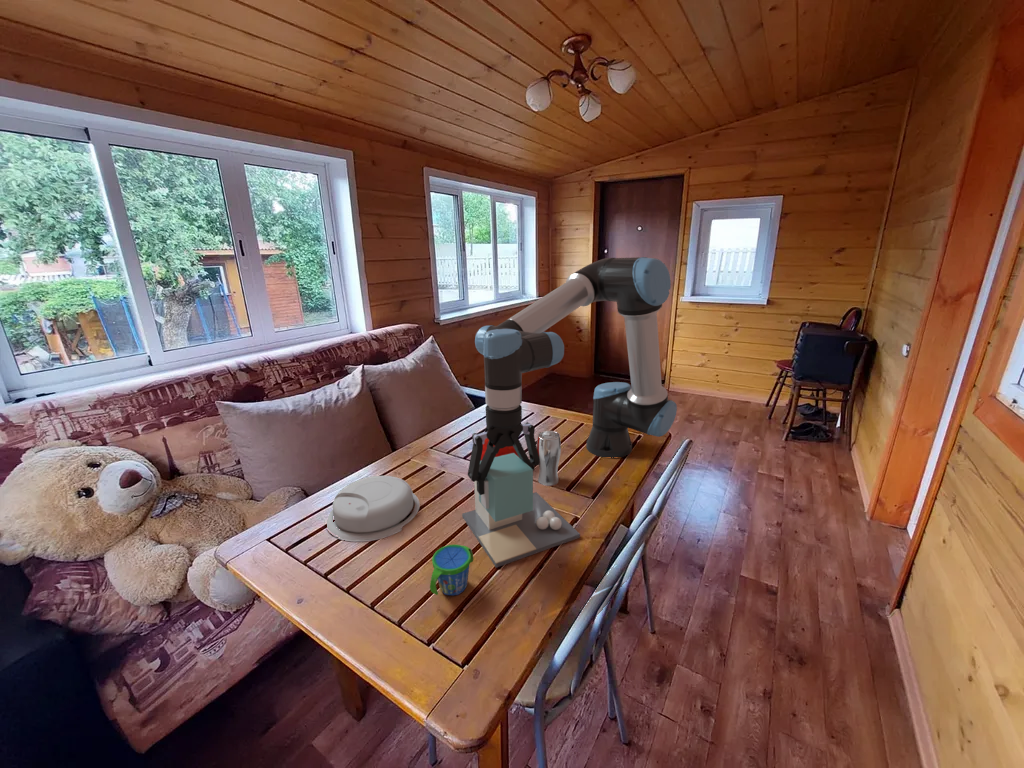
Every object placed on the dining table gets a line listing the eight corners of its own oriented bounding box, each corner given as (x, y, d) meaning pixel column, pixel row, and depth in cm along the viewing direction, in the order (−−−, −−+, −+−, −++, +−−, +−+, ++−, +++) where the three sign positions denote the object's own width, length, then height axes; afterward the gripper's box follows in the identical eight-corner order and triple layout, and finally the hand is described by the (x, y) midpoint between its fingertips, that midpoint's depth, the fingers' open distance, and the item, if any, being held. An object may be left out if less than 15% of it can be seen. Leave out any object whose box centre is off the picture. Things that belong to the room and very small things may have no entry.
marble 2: (550, 517, 108) (550, 506, 107) (557, 523, 105) (557, 512, 104) (540, 520, 107) (540, 509, 106) (546, 526, 104) (546, 516, 103)
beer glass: (558, 488, 123) (559, 440, 118) (535, 486, 124) (535, 439, 120) (561, 476, 129) (562, 430, 125) (538, 474, 131) (538, 429, 126)
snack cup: (445, 614, 81) (442, 581, 78) (419, 594, 85) (416, 563, 83) (486, 579, 89) (485, 549, 87) (461, 563, 94) (459, 534, 91)
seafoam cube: (514, 491, 101) (513, 452, 98) (532, 510, 93) (532, 469, 90) (479, 500, 97) (477, 461, 94) (495, 521, 89) (494, 479, 87)
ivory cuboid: (506, 501, 115) (505, 468, 112) (522, 519, 107) (521, 484, 104) (475, 510, 111) (473, 476, 108) (489, 529, 103) (488, 493, 100)
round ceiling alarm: (440, 512, 113) (439, 491, 111) (348, 556, 97) (344, 533, 95) (395, 478, 131) (393, 460, 129) (310, 511, 115) (306, 490, 113)
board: (536, 495, 120) (536, 491, 119) (579, 537, 102) (580, 532, 101) (462, 516, 110) (462, 512, 110) (496, 567, 92) (495, 562, 92)
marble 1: (544, 523, 105) (544, 512, 105) (551, 530, 103) (551, 519, 102) (534, 526, 104) (534, 516, 103) (540, 533, 102) (540, 522, 101)
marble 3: (557, 523, 105) (557, 513, 104) (564, 530, 103) (564, 519, 102) (546, 527, 104) (547, 516, 103) (553, 533, 101) (553, 523, 101)
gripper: (539, 392, 96) (539, 480, 103) (447, 407, 87) (453, 504, 93) (557, 401, 90) (555, 495, 96) (460, 419, 80) (465, 522, 87)
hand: (505, 499), depth 95 cm, fingers closed on seafoam cube, 9 cm apart
